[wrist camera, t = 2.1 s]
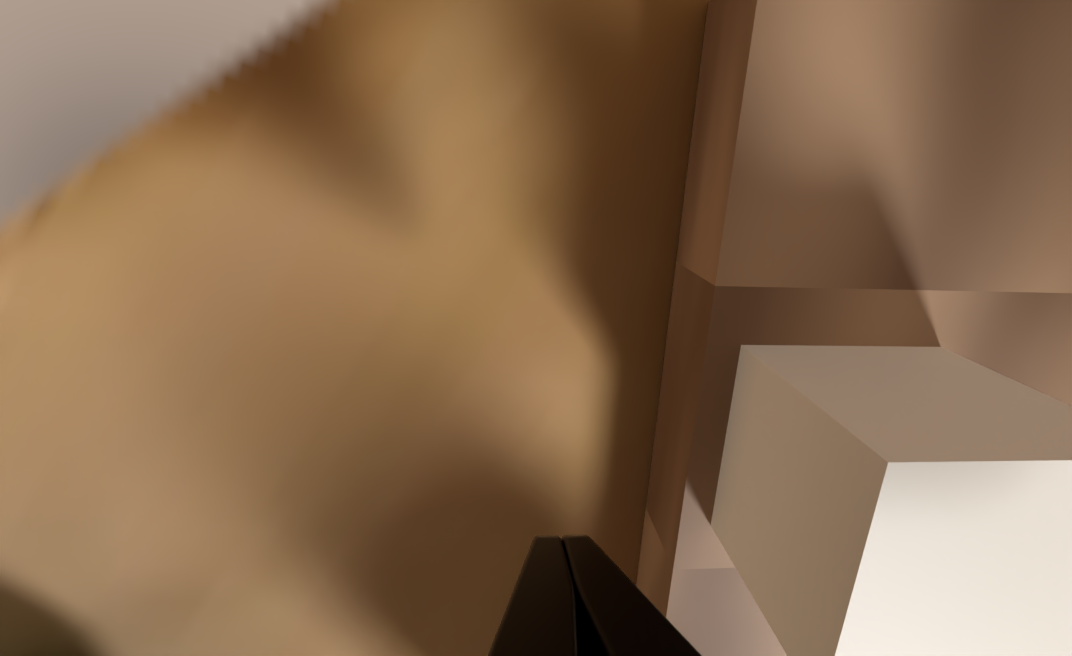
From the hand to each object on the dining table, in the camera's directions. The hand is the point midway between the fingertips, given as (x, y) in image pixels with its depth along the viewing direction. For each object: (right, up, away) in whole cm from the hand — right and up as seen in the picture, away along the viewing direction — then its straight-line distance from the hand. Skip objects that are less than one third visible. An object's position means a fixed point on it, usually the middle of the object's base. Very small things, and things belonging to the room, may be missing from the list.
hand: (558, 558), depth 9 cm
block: (+6, +1, +4) cm, 7 cm away
